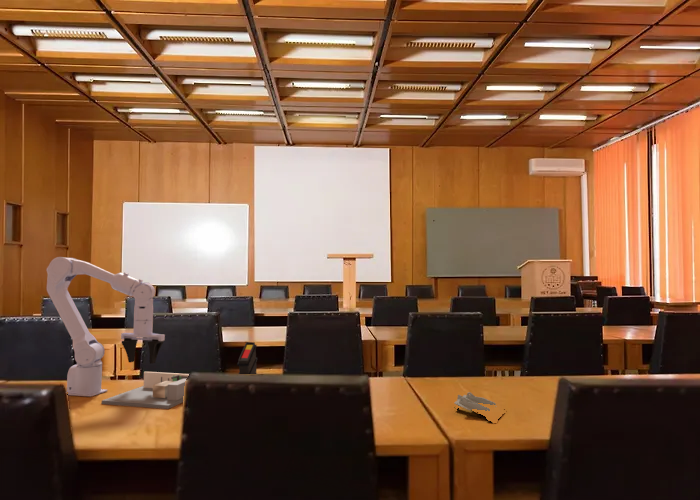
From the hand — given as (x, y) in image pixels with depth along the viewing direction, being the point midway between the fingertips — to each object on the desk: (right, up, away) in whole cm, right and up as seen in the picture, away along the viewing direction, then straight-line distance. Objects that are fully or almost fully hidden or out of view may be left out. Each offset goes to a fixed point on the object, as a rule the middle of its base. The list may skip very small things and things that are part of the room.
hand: (141, 362), depth 164 cm
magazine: (+33, -10, +7) cm, 35 cm away
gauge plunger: (+11, -8, -7) cm, 15 cm away
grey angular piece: (+104, -11, -21) cm, 106 cm away
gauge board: (+7, -9, -8) cm, 14 cm away
